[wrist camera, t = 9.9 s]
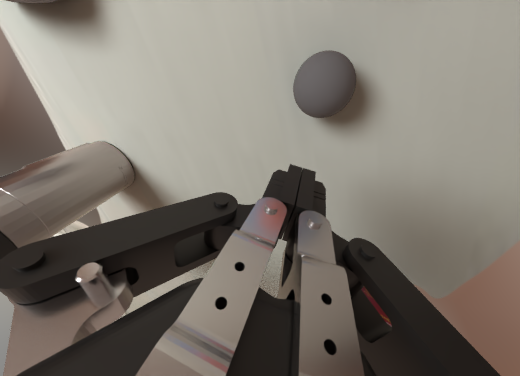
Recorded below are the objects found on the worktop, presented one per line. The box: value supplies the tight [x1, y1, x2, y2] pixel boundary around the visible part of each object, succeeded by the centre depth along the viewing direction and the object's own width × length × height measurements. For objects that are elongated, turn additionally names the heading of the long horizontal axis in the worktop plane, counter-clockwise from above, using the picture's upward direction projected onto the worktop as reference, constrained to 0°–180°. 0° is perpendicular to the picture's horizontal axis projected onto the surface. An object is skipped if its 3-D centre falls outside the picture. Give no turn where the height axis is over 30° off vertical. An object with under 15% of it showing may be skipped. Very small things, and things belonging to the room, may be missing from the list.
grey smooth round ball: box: [293, 51, 356, 118], centre depth 18 cm, size 6×6×6 cm
